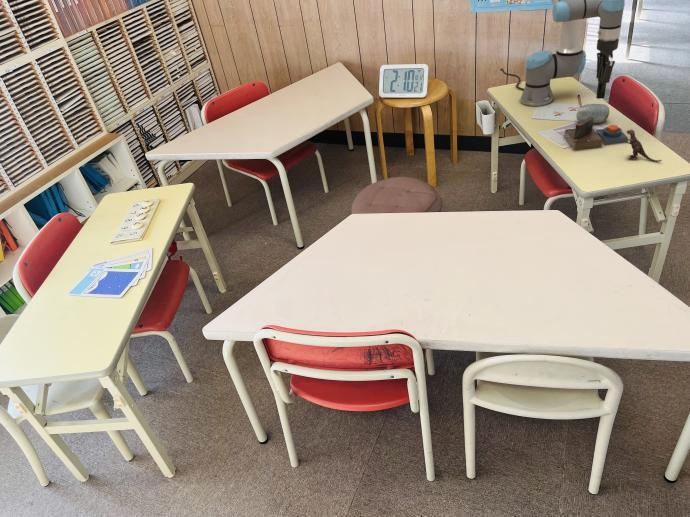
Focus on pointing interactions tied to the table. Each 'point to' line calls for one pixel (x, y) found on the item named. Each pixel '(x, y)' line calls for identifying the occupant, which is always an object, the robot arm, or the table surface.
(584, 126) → the pointer
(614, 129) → the button
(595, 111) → the grey striped ovoid
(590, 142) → the dial console
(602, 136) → the buzzer
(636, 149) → the dinosaur model
